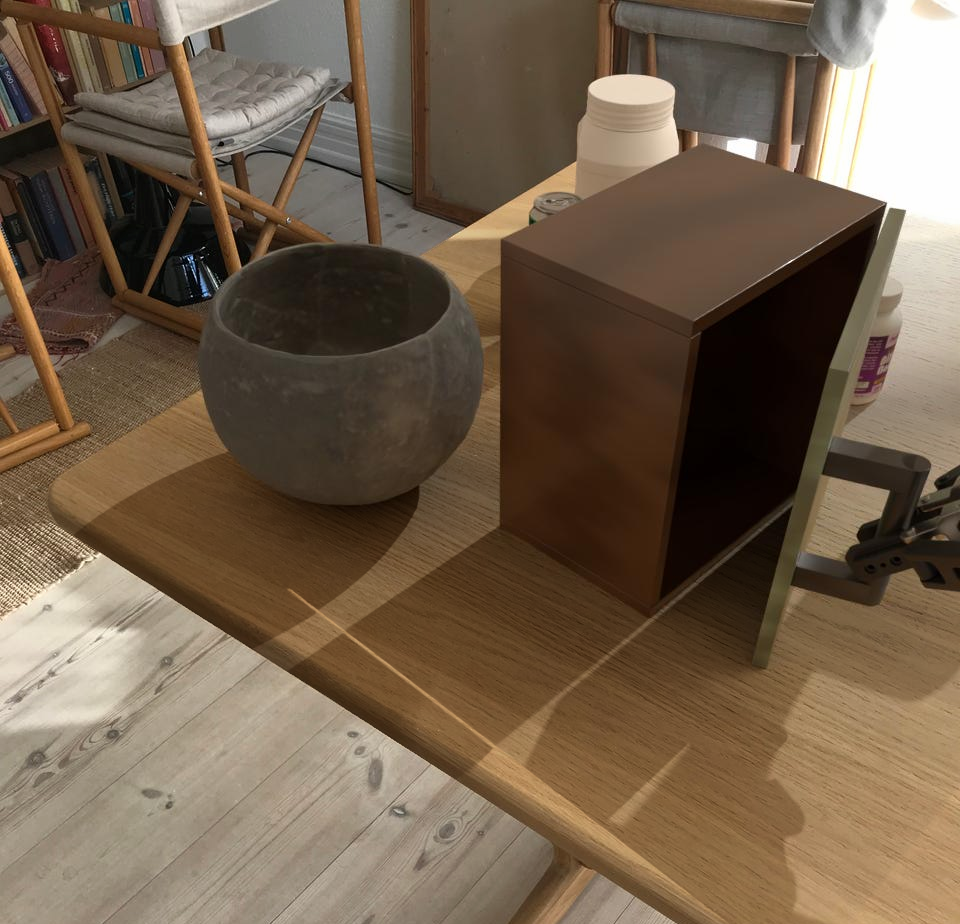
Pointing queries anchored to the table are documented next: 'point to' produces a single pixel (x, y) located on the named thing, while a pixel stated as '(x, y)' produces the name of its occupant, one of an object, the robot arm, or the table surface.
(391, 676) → the table surface
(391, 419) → the bowl
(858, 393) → the pill bottle
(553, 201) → the soda can
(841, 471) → the door
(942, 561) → the robot arm
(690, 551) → the cupboard
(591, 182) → the jar
